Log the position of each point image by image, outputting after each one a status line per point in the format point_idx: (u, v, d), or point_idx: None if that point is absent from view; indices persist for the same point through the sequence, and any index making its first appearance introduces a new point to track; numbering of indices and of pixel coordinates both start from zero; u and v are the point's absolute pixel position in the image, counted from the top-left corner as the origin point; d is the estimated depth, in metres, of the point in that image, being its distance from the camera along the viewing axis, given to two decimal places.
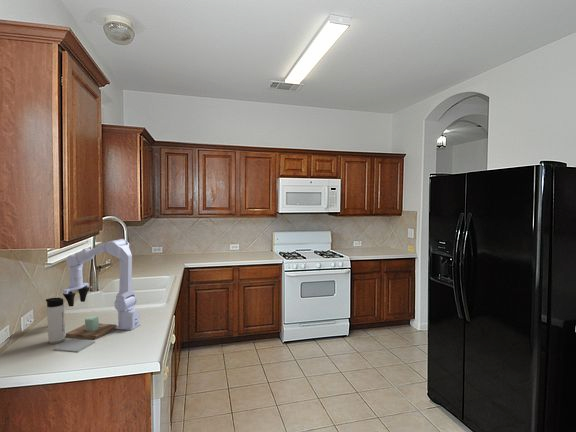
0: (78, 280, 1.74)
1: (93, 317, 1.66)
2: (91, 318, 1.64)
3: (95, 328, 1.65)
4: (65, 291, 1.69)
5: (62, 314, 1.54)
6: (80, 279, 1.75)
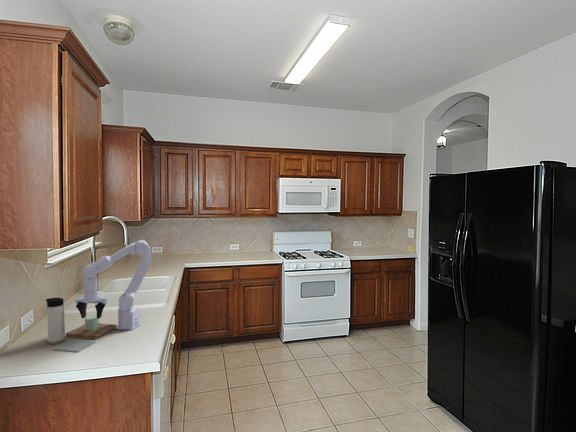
0: (84, 293, 1.62)
1: (93, 317, 1.66)
2: (91, 318, 1.64)
3: (95, 328, 1.65)
4: None
5: (62, 314, 1.54)
6: (86, 293, 1.61)
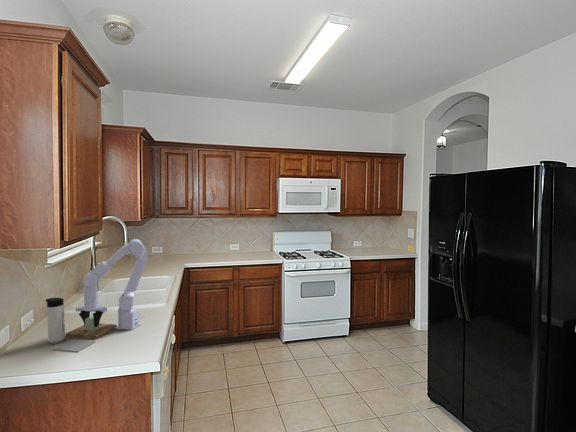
0: (85, 301, 1.62)
1: (93, 317, 1.66)
2: (91, 318, 1.64)
3: (95, 328, 1.65)
4: None
5: (62, 314, 1.54)
6: (86, 301, 1.61)
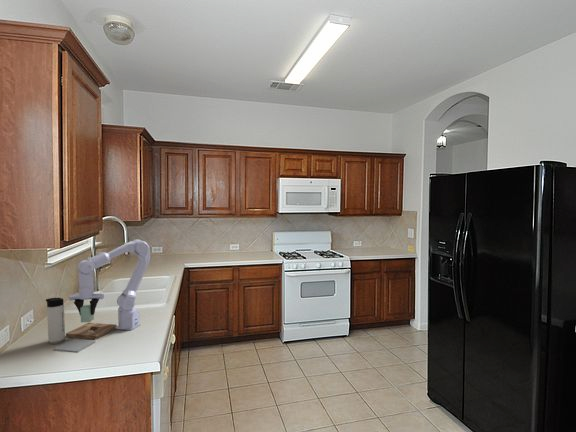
0: (81, 289, 1.57)
1: (88, 305, 1.62)
2: (87, 306, 1.60)
3: (91, 316, 1.61)
4: None
5: (62, 314, 1.54)
6: (83, 289, 1.57)
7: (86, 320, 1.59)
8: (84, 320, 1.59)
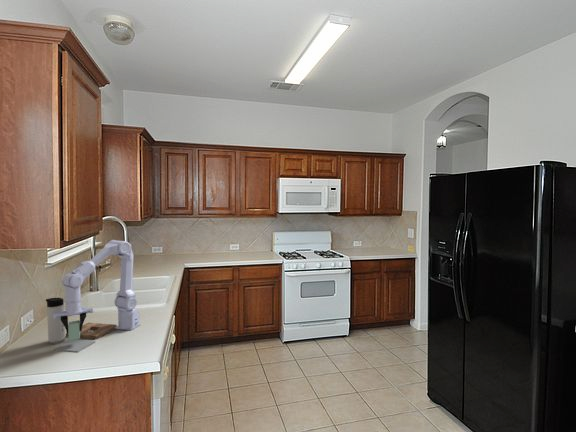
0: (69, 305, 1.46)
1: (74, 321, 1.50)
2: (75, 322, 1.49)
3: (79, 332, 1.50)
4: (53, 315, 1.45)
5: None
6: (72, 304, 1.46)
7: (75, 337, 1.48)
8: (73, 338, 1.48)
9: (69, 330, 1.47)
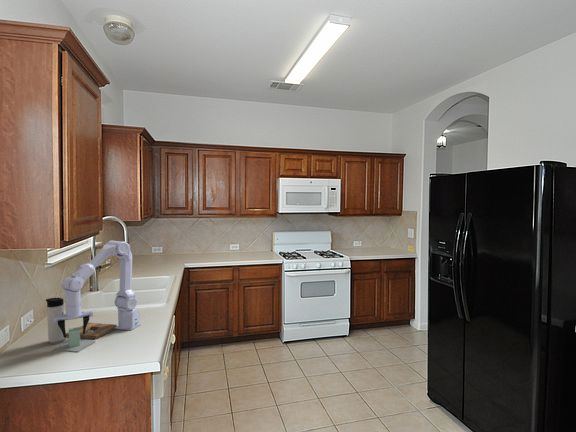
0: (69, 308, 1.46)
1: (74, 328, 1.50)
2: (75, 329, 1.49)
3: None
4: None
5: (62, 314, 1.54)
6: (72, 307, 1.46)
7: (76, 344, 1.48)
8: (73, 344, 1.48)
9: (69, 337, 1.47)
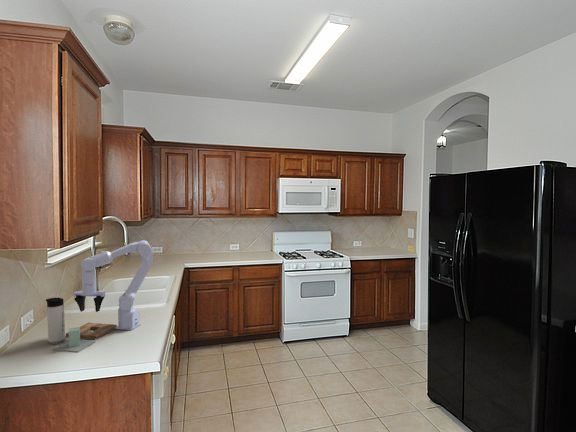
0: (83, 286, 1.61)
1: (74, 328, 1.50)
2: (75, 329, 1.49)
3: None
4: None
5: (62, 314, 1.54)
6: (84, 286, 1.61)
7: (76, 344, 1.48)
8: (73, 344, 1.48)
9: (69, 337, 1.47)
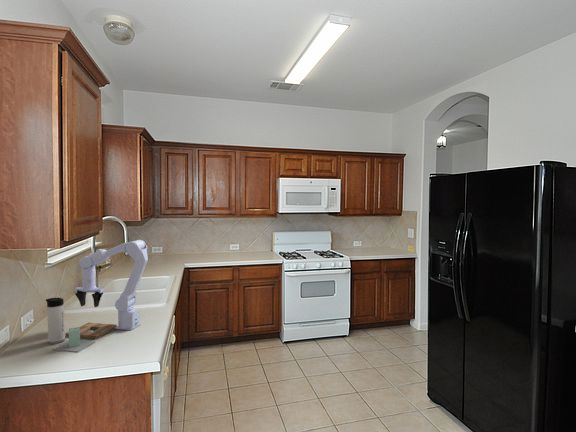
0: (82, 282, 1.68)
1: (74, 328, 1.50)
2: (75, 329, 1.49)
3: None
4: None
5: (62, 314, 1.54)
6: (84, 282, 1.68)
7: (76, 344, 1.48)
8: (73, 344, 1.48)
9: (69, 337, 1.47)
